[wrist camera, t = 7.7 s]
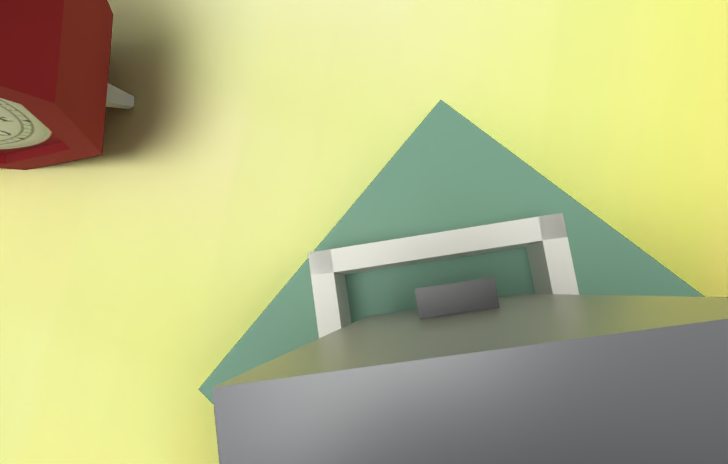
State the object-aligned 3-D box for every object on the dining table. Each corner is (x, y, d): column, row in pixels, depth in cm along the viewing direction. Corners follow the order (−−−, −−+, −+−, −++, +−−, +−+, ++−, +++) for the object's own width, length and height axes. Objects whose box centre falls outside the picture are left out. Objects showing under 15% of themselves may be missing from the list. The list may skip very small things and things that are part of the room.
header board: (713, 312, 18) (777, 316, 15) (456, 626, 18) (465, 701, 15) (440, 107, 20) (443, 72, 17) (207, 385, 20) (165, 404, 17)
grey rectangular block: (548, 424, 15) (1054, 950, 3) (386, 443, 15) (268, 965, 3) (520, 274, 15) (845, 219, 4) (365, 297, 16) (204, 313, 4)
